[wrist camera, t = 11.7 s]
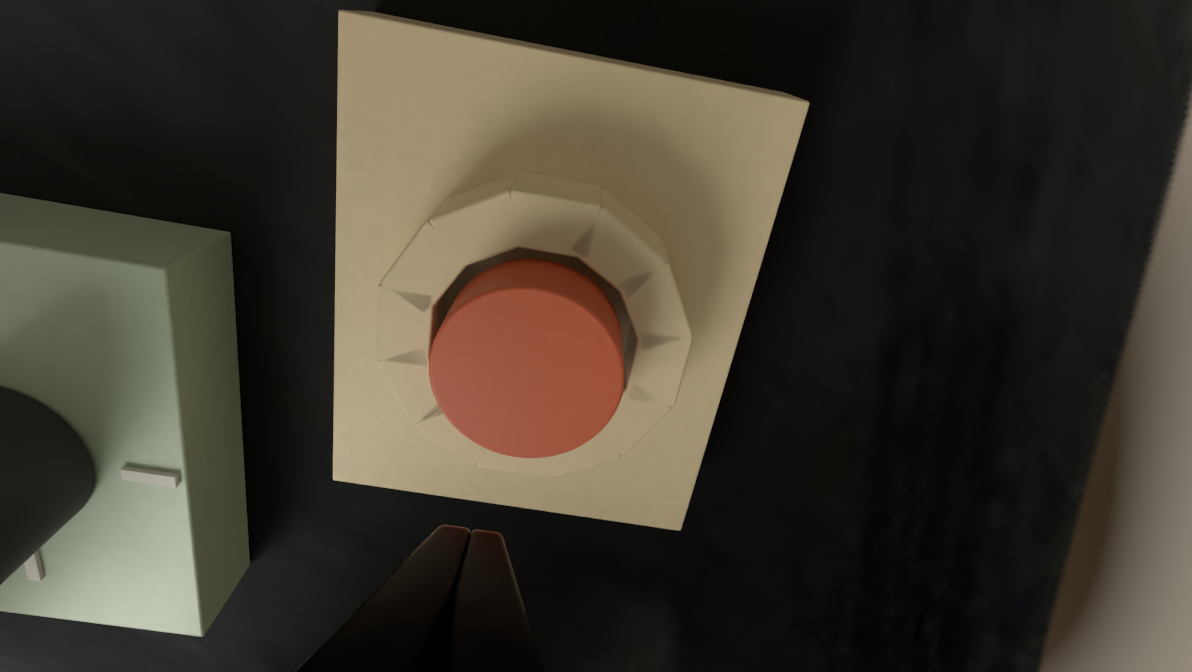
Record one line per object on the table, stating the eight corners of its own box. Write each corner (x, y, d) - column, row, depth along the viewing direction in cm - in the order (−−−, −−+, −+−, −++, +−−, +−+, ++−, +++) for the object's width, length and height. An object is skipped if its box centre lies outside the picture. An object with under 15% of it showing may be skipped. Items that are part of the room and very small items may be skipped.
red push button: (604, 428, 16) (605, 472, 14) (439, 402, 16) (421, 443, 14) (638, 274, 14) (643, 305, 13) (454, 242, 14) (435, 270, 12)
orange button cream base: (673, 484, 21) (688, 579, 18) (358, 436, 20) (306, 524, 17) (785, 92, 16) (838, 111, 12) (371, 11, 15) (301, 6, 12)
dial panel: (251, 564, 23) (200, 642, 20) (-24, 527, 22) (-117, 602, 19) (232, 231, 18) (161, 270, 15) (-125, 170, 17) (-272, 199, 14)
